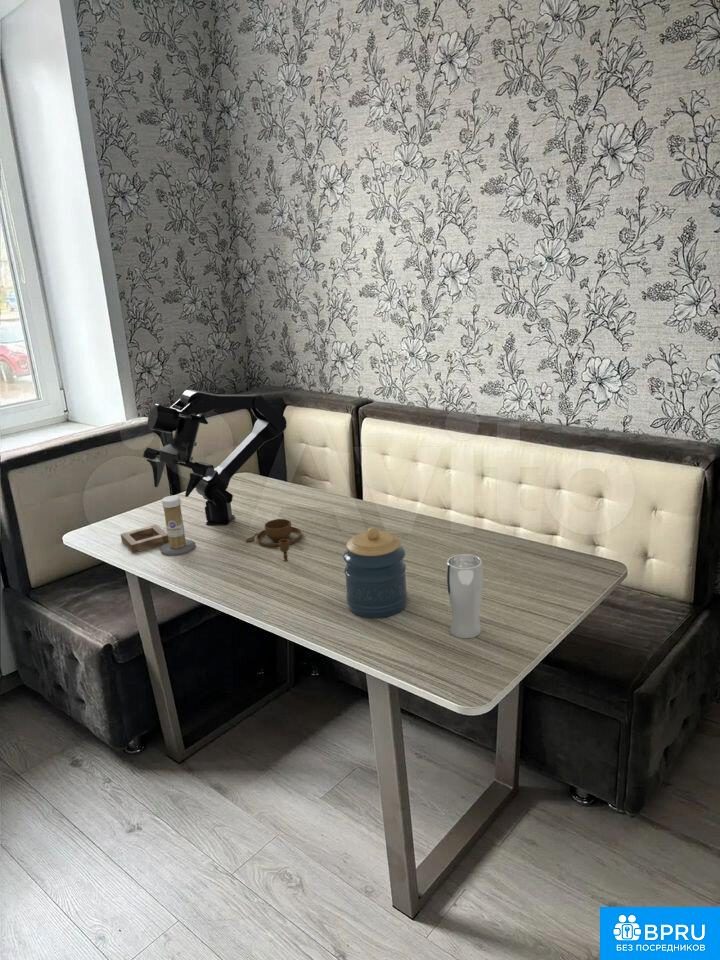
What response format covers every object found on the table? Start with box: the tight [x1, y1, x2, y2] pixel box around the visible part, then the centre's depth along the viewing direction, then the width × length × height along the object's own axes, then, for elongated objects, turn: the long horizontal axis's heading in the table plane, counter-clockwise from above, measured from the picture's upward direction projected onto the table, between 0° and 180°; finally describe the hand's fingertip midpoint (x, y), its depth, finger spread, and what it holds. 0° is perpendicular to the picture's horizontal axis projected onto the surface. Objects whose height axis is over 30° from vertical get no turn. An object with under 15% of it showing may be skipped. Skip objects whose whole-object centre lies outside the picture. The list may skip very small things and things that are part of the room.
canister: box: [342, 526, 408, 619], centre depth 154 cm, size 13×13×18 cm
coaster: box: [159, 538, 196, 556], centre depth 193 cm, size 9×9×1 cm
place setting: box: [245, 518, 303, 563], centre depth 190 cm, size 18×20×6 cm
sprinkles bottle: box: [161, 495, 186, 549], centre depth 191 cm, size 5×5×14 cm
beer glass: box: [445, 553, 484, 639], centre depth 142 cm, size 7×7×15 cm
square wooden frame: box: [120, 524, 169, 554], centre depth 198 cm, size 10×10×2 cm
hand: (171, 491), depth 199 cm, fingers open, 9 cm apart
